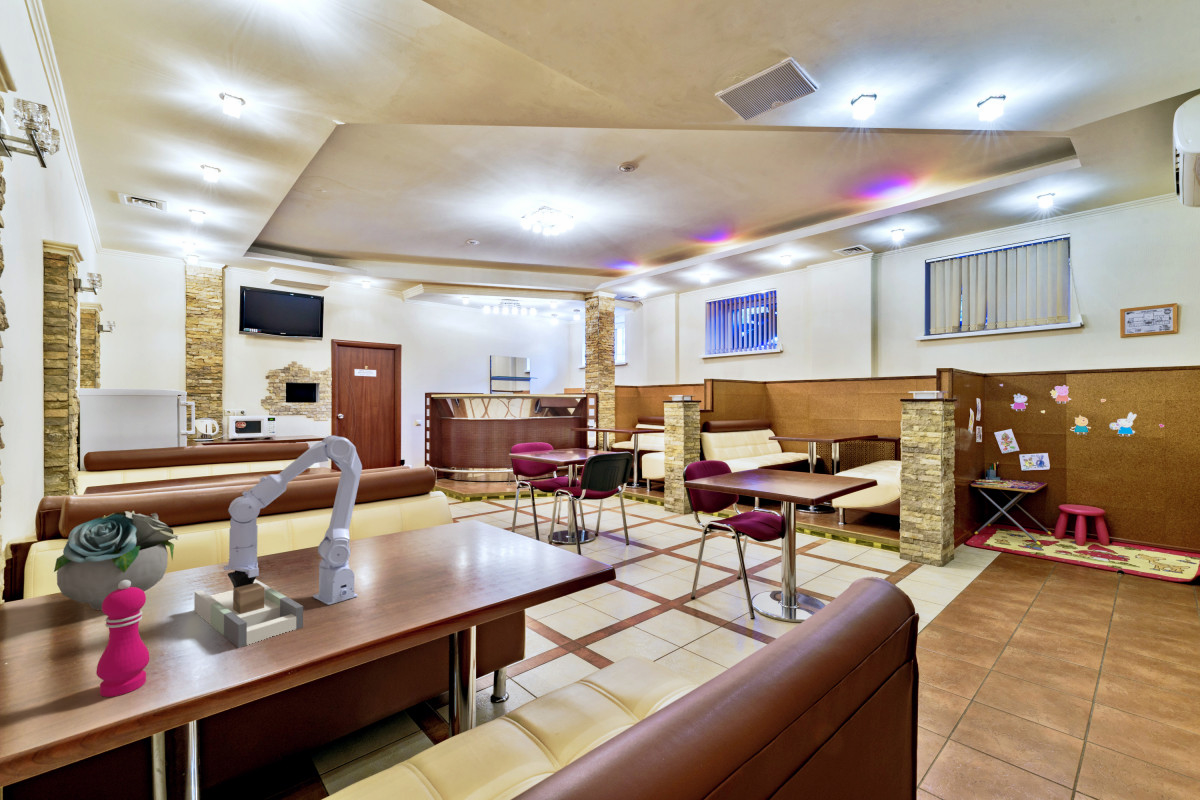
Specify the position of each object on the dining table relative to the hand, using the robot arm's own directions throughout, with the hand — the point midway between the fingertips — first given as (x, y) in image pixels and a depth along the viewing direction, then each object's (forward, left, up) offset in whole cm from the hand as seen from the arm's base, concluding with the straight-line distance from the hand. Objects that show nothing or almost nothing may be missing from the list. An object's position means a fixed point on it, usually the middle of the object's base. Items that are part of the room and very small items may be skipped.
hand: (242, 600), depth 126 cm
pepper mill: (-20, +25, -4) cm, 32 cm away
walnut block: (-4, 0, -1) cm, 4 cm away
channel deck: (-3, 0, -4) cm, 5 cm away
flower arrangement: (+35, +18, -4) cm, 40 cm away
